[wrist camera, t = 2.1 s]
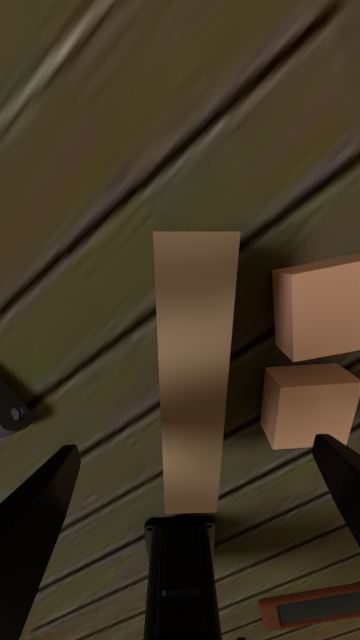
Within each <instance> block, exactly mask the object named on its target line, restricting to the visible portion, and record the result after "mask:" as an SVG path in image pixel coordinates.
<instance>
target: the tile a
mask: <svg viewBox="0 0 360 640" xmlns="http://www.w3.org/2000/svg"><path fill="white" fill-rule="evenodd" d="M359 398H360V379H358V378H357V377H355V376H354V375H353V374H351V373H350V372H348V371H347V370H346V369H344V368H343V367H341V366H340V365H339V364H337V363H329V364H313V365H297V366H281V367H265V377H264V388H263V399H262V410H261V421H260V424H261V426H262V428H263V430H264V432H265V434H266V436H267V438H268V440H269V442H270V445H271V447H272V449H273V450H274V449H289V448H304V447H313V443H314V439H315V436H316V435H317V434H329V435H331V436H333V437H334V438H336V439H337V440H339V441H340V442H342V443H343V444H345V445H346V444H347V441H348V437H349V433H350V430H351V426H352V423H353V419H354V415H355V412H356V408H357V405H358V401H359Z"/></svg>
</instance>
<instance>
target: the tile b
mask: <svg viewBox="0 0 360 640" xmlns="http://www.w3.org/2000/svg"><path fill="white" fill-rule="evenodd" d="M272 282H273V302H274V322H275V342H276V346H277V347H278V348H279V349H280V350H281V351H282V352H283V353H284V354H285V355H286V356H287V357H289V358H290V359H291V360H292V361H293V362H298V361H303V360H309V359H314V358H319V357H325V356H330V355H336V354H341V353H347V352H352V351H357V350H360V253H356V254H351V255H346V256H341V257H336V258H331V259H326V260H321V261H316V262H311V263H306V264H301V265H297V266H292V267H287V268H282V269H277V270H272Z"/></svg>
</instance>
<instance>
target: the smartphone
mask: <svg viewBox="0 0 360 640" xmlns="http://www.w3.org/2000/svg"><path fill="white" fill-rule="evenodd" d="M258 603H259V607H260V611H261V615H262V619H263V623H264V626H265V628H266V630H268V631H271V630H280V629H287V628H293V627H299V626H305V625H311V624H317V623H324V622H330V621H336V620H342V619H348V618H354V617H360V583H354V584H348V585H342V586H336V587H330V588H324V589H318V590H312V591H306V592H300V593H294V594H287V595H281V596H275V597H270V598H264V599H260V600H258Z"/></svg>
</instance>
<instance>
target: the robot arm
mask: <svg viewBox="0 0 360 640" xmlns="http://www.w3.org/2000/svg"><path fill="white" fill-rule="evenodd" d="M312 454H313V457H314V459H315V461H316V463H317V466H318V468H319V470H320V472H321V474H322V476H323V478H324V481H325V483H326V485H327V487H328V489H329V491H330V493H331V496H332V498H333V500H334V502H335V504H336V506H337V508H338V509H339V511H340V513H341V515H342V517H343V518H344V520H345V522H346V524H347V525H348V527H349V529H350V531H351V532H352V534H353V536H354V538H355V540H356V541H357V543H358V545H359V547H360V454H358V453H357V452H355V451H354V450H352V449H351V448H349V447H348V446H346V445H345V444H343V443H342V442H340V441H339V440H337V439H336V438H334V437H333V436H331V435H329V434H317V435H316V436H315V439H314V443H313V448H312ZM80 464H81V460H80V456H79V452H78V448H77V446H76V445H75V444H73V445H64V446H63V447H62V448H61V449H59V450H58V451H57V452H56V453H55V454H54V455H53V456H52V457H51V458H50V459H48V460H47V461H46V462H45V463H44V464H43V465H42V466H41V467H40V468H39V469H38V470H36V471H35V472H34V473H33V474H32V475H31V476H30V477H29V478H28V479H27V480H26V481H24V482H23V483H22V484H21V485H20V486H19V487H18V488H17V489H16V490H15V491H14V492H12V493H11V494H10V495H9V496H8V497H7V498H6V499H5V500H4V501H3V502H1V503H0V640H19V638H20V636H21V633H22V630H23V628H24V625H25V623H26V620H27V617H28V615H29V612H30V609H31V607H32V604H33V602H34V599H35V596H36V594H37V591H38V588H39V586H40V583H41V581H42V578H43V575H44V573H45V570H46V567H47V565H48V562H49V560H50V557H51V554H52V552H53V549H54V547H55V544H56V541H57V539H58V536H59V533H60V531H61V528H62V525H63V523H64V520H65V517H66V514H67V510H68V507H69V504H70V500H71V497H72V493H73V490H74V486H75V483H76V479H77V476H78V472H79V469H80ZM144 532H145V539H146V546H147V554H148V561H149V575H148V587H147V600H146V613H145V626H144V638H143V640H222V636H221V628H220V620H219V612H218V604H217V595H216V587H215V579H214V571H213V561H214V542H215V521H214V519H213V518H191V519H171V520H151V521H147V522H145V527H144ZM237 640H246V639H245V638H237Z"/></svg>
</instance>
